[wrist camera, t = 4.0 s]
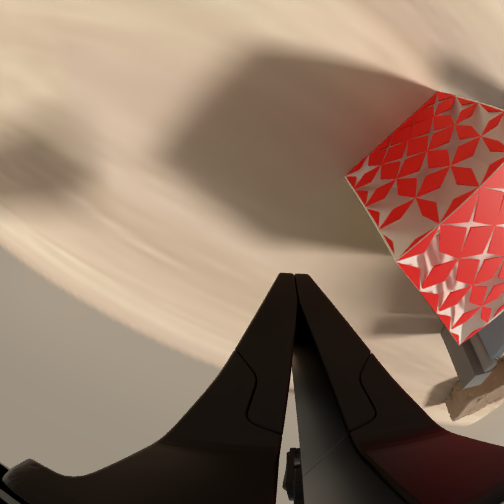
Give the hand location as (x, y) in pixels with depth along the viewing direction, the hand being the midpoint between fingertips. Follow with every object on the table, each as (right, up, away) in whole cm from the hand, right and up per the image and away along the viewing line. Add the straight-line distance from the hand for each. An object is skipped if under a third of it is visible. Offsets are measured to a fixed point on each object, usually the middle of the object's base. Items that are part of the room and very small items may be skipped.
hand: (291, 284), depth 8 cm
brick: (+35, -17, +20) cm, 45 cm away
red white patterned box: (+9, +5, +6) cm, 13 cm away
